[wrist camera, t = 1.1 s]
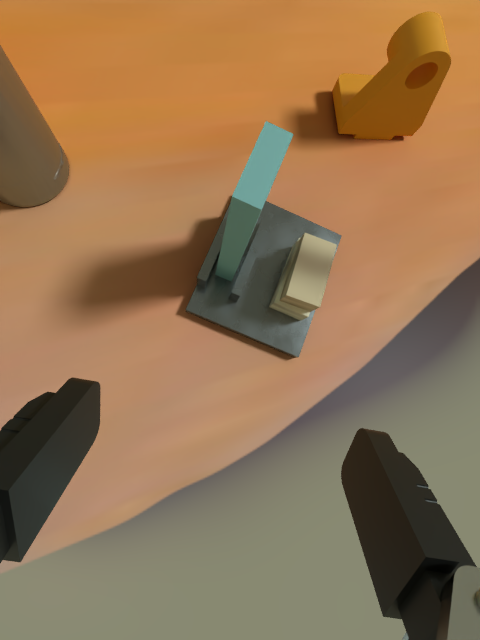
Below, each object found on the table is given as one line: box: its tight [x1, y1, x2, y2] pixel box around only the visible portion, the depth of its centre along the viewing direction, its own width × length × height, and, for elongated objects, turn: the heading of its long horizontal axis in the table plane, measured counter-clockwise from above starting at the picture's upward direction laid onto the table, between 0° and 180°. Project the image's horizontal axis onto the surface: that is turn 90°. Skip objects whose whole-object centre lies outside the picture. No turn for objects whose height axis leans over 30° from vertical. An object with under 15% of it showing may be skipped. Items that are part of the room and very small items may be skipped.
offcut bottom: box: [269, 238, 310, 321], centre depth 35 cm, size 8×4×2 cm, turn 158°
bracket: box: [332, 12, 451, 140], centre depth 37 cm, size 11×7×12 cm, turn 95°
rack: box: [186, 201, 341, 358], centre depth 35 cm, size 16×14×4 cm
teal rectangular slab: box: [215, 121, 293, 282], centre depth 28 cm, size 6×2×16 cm, turn 158°
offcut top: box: [279, 233, 337, 312], centre depth 32 cm, size 7×4×2 cm, turn 162°
